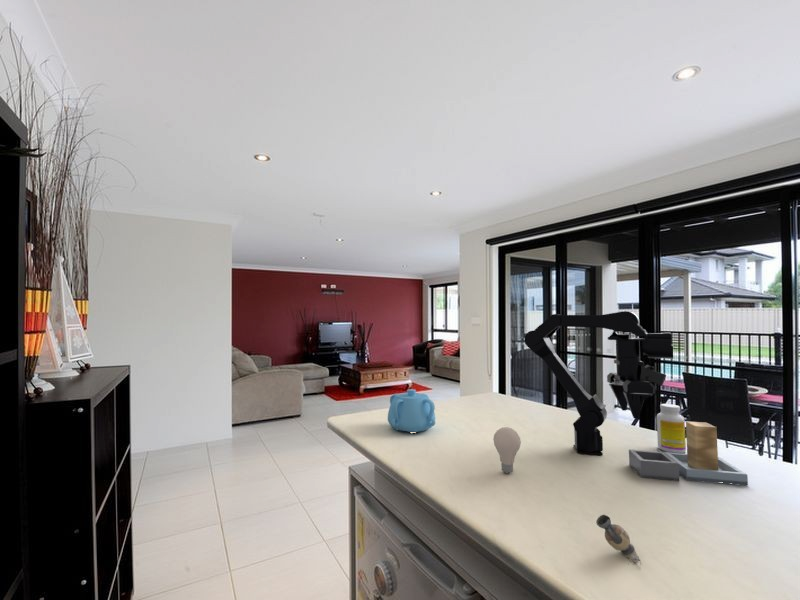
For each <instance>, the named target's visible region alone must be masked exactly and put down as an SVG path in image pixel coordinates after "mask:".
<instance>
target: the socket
mask: <svg viewBox="0 0 800 600" xmlns="http://www.w3.org/2000/svg"><path fill="white" fill-rule="evenodd" d="M664 452H665V451H655V450H654V451H652V450H640V449H628V460H629V462H628V463H629V464H628V465H629V467H630V468H631V469H633V471H634V472H635V473H636V474H637V475H638V476H639V477H640V478H642V479H644V478H645V479H651V478H652V479H653V480H654V479H655V480H663V481H673V482H674V481H675V482H680V474H679V463H677V462H676V461H675V460H673V459H672V458H671V457H670V456H668V455H667V454H666V453H664Z"/></svg>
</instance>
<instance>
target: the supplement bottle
mask: <svg viewBox="0 0 800 600" xmlns="http://www.w3.org/2000/svg"><path fill="white" fill-rule="evenodd" d="M659 407H660V412H659V413H657V414H656V429H657V435H656V436H657V448H658V449H660V450H661V451H662V452H668V453H681V454H685V452H687V441H686V421H685V417H684V416H683V415H681V414H680V411H681V407H680V405H676V404H672V403H661V404H660V405H659Z"/></svg>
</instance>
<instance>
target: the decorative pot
mask: <svg viewBox="0 0 800 600" xmlns="http://www.w3.org/2000/svg"><path fill="white" fill-rule="evenodd" d="M389 404H390V405H389V408H388V412H387V422H388V423H389V425H390V427H391V428H392V429H394V430H395V429H398V430H399V431H403V432H408V433H409V432H419V433H420V432H423V431H427V429H428V430H429V429H432V427H434V426H435V425H436V413H435V409H436V407H435V403H434V402H433V401H432V399H430V397H429V396H428V394H426V393H419V392H418V393H417V390H416V389H413V388H410V389H407V390H406V392H402V393H393V394H392V395H390V398H389ZM398 430H397V431H398Z"/></svg>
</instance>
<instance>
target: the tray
mask: <svg viewBox="0 0 800 600" xmlns="http://www.w3.org/2000/svg"><path fill="white" fill-rule="evenodd" d="M663 452H664V453H666V454H667V455H668V456H670V457H671V458H672V459H673V460H675V461H676V462H677V463H679V476H681V477H682V478H684V479H685V480H686V481H692V482H693V481H694V482H701V481H704V482H703V483H713V482H723V483H722V484H724V483H732V484H731V485H735V484H739V485H738V486H746V485H748V486H749V480H748V474H747V473H746V472H744V471H743V470H741V469H739V468H737V467H736V466H734V465H732V464H731V463H730V462H727V461H726V460H724V459H723V458H721V457H720V456H718V471H717V470H705V469H694V468H691V467H689V466H688V460H687V453H670V452H666V451H663Z"/></svg>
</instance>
